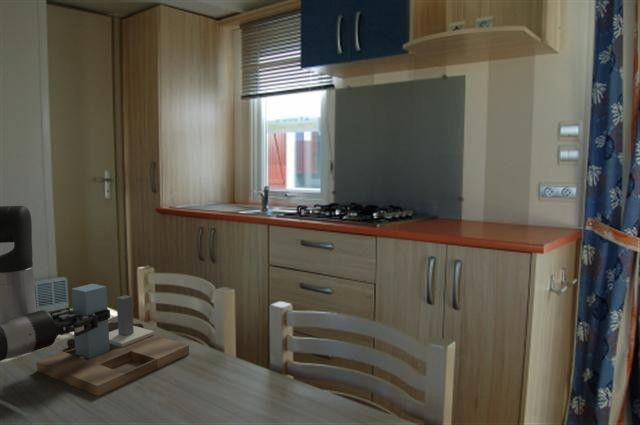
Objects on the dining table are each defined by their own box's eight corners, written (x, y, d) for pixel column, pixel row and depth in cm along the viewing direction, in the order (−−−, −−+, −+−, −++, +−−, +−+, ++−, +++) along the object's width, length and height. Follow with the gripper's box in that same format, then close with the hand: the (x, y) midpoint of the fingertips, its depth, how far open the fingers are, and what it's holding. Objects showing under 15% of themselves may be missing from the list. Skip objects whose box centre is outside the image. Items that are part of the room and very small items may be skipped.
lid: (97, 339, 114) (95, 299, 113) (130, 327, 122) (128, 289, 121) (122, 347, 110) (119, 305, 108) (154, 334, 117) (152, 295, 116)
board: (37, 373, 103) (36, 361, 102) (130, 338, 122) (129, 328, 122) (98, 398, 92) (97, 385, 91) (189, 355, 111) (188, 345, 111)
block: (75, 354, 108) (71, 288, 106) (96, 347, 112) (92, 283, 110) (89, 359, 105) (85, 291, 103) (109, 351, 109) (106, 286, 107)
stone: (75, 355, 112) (74, 343, 112) (55, 343, 119) (54, 332, 119) (146, 335, 125) (145, 324, 125) (124, 325, 133) (123, 315, 132)
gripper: (42, 322, 91) (121, 300, 106) (3, 310, 99) (81, 290, 113) (44, 360, 92) (122, 333, 106) (6, 345, 99) (83, 322, 114)
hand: (101, 311), depth 110 cm, fingers closed on block, 5 cm apart
